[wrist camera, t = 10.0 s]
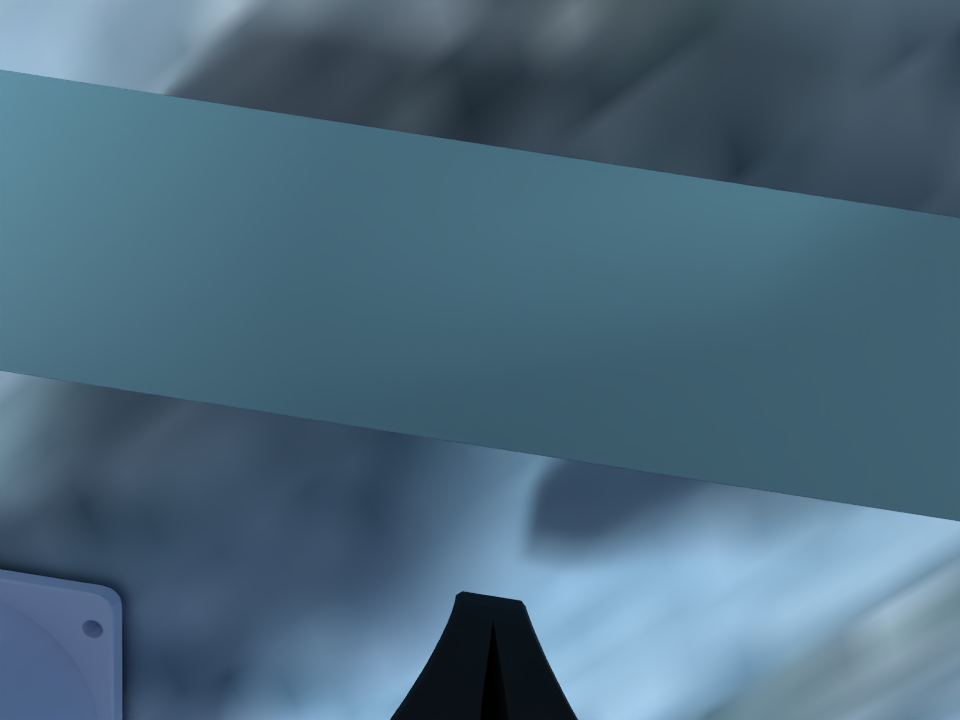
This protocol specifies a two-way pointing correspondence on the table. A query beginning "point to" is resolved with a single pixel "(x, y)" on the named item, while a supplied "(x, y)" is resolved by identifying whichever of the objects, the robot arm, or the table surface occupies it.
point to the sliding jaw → (480, 294)
